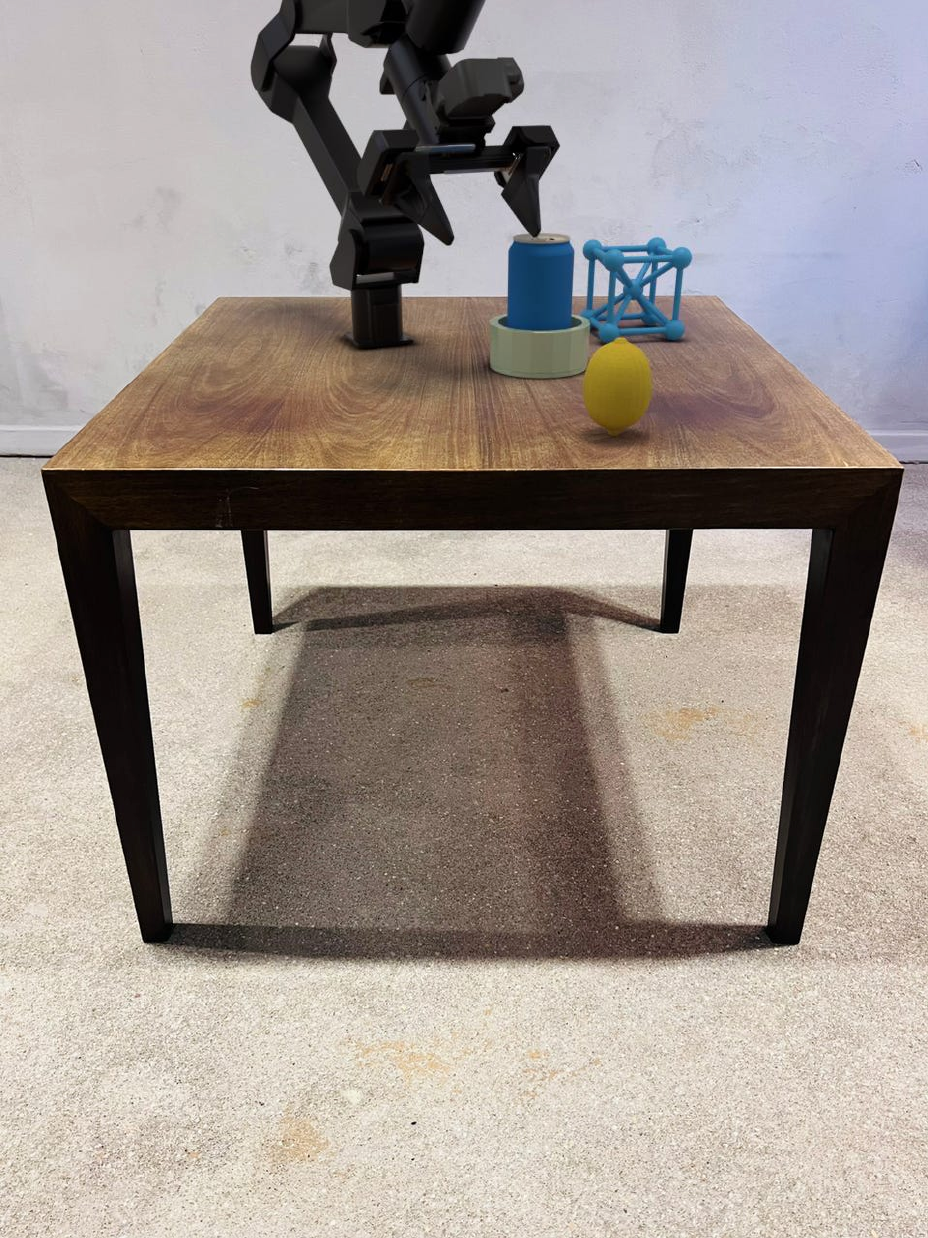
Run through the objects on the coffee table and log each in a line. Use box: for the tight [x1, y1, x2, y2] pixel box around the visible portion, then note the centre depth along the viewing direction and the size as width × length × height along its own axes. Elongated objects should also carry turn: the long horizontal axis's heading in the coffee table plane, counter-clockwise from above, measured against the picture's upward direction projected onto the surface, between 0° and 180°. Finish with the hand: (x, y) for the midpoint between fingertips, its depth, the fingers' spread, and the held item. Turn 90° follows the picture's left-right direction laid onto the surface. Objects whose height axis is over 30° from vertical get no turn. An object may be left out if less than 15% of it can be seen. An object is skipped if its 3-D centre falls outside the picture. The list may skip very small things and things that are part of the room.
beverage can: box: [506, 232, 575, 331], centre depth 98 cm, size 6×6×12 cm
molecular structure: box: [579, 236, 693, 345], centre depth 111 cm, size 10×10×10 cm
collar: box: [489, 313, 591, 380], centre depth 100 cm, size 10×10×4 cm
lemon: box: [582, 336, 653, 436], centre depth 79 cm, size 6×6×8 cm
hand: (495, 238), depth 87 cm, fingers open, 9 cm apart
